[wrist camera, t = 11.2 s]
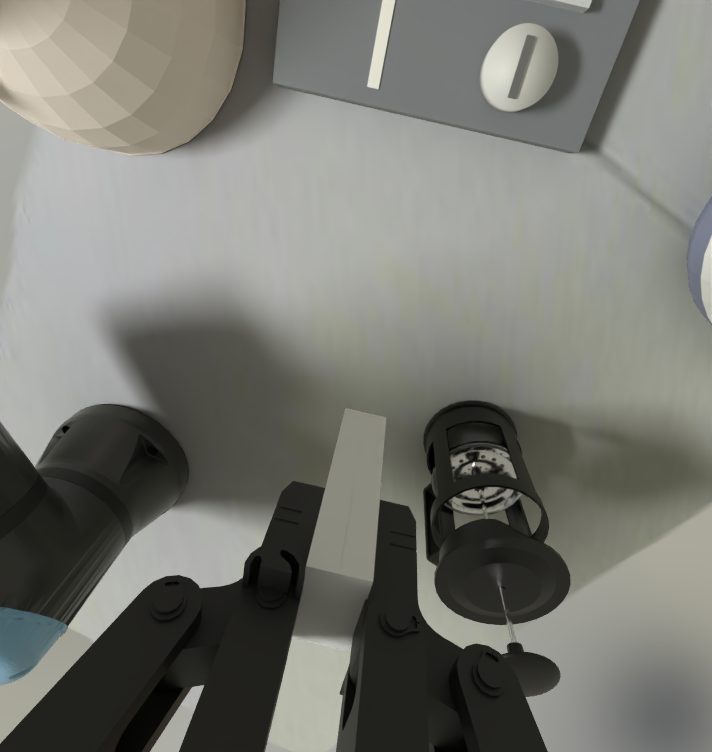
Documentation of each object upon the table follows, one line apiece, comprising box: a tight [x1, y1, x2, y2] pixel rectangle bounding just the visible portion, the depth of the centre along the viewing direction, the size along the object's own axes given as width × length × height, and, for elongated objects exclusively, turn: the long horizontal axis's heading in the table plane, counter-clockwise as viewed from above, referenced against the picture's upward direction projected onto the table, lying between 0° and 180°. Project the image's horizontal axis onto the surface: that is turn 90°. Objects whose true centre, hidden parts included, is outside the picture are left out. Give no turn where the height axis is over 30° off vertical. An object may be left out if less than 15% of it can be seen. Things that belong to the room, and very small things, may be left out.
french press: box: [423, 401, 570, 697], centre depth 34 cm, size 12×9×23 cm
